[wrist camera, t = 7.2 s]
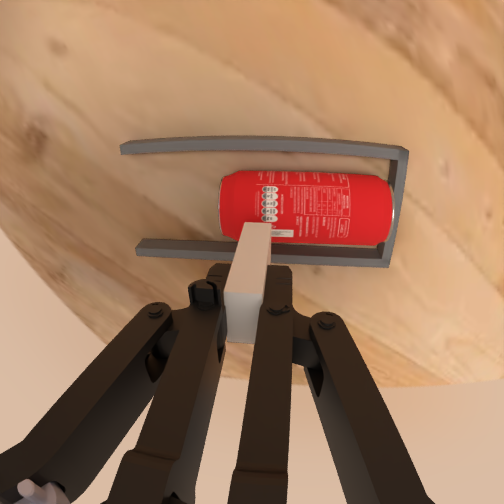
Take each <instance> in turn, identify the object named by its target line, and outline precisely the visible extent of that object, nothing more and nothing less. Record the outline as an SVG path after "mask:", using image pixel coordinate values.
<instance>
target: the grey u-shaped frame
mask: <svg viewBox="0 0 504 504" xmlns="http://www.w3.org/2000/svg"><path fill="white" fill-rule="evenodd" d="M204 150H262V151H293V152H313V153H329V154H342V155H354V156H365V157H375V158H384V159H391V162H390V170H389V178H388V181H389V182H390V184H391V186H392V189H393V193H394V200H395V218H394V225H393V230H392V233H391V236H390V238H389V240H388V241H387V242H385V243H382V242H380V243H378V247H377V249H368V248H348V247H327V246H306V245H284V244H271V263H285V264H307V265H330V266H354V267H379V268H389V265H390V260H391V256H392V251H393V247H394V242H395V237H396V232H397V227H398V221H399V216H400V210H401V205H402V199H403V192H404V186H405V179H406V172H407V165H408V157H409V151H408V150H407V149H405V148H403V147H402V146H395V145H387V144H378V143H369V142H359V141H349V140H337V139H323V138H307V137H284V136H198V137H175V138H159V139H145V140H133V141H128V142H126V143H124V144H121V145H120V151H121V155H124V154H137V153H153V152H172V151H204ZM237 245H238V242H214V241H189V240H163V239H142V240H141V242H140V243H139V244H138V245H137V246H136V248H135V249H136V255H137V256H149V257H167V258H185V259H204V260H224V261H233V259H234V255H235V252H236V249H237Z"/></svg>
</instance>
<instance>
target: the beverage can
mask: <svg viewBox="0 0 504 504" xmlns="http://www.w3.org/2000/svg"><path fill="white" fill-rule="evenodd" d="M218 217H219V226H220V230H221V233H222V235H225V236H229V237H231V238H233V239H235V240H237V241H239V239H240V236H241V232H242V229H243V226H244V223H245V222H253V223H271V242H282V243H314V244H343V245H371V246H374V245H376V244H378V243H380V242H382V243H385V242H387V241H388V240H389V238H390V236H391V233H392V230H393V225H394V218H395V200H394V193H393V189H392V186H391V184H390V182H389V181H388V180H382V179H381V178H379V177H378V176H374V175H360V174H344V173H324V172H298V171H238V172H235V173H233V174H231V175H229V176H224V177H223V178H222V180H221V184H220V189H219V198H218Z"/></svg>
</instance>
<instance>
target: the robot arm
mask: <svg viewBox="0 0 504 504" xmlns="http://www.w3.org/2000/svg"><path fill="white" fill-rule="evenodd" d="M188 292H189V299H190V306H189V307H187V308H184V309H179V310H171V308H170V307H169V305H167V304H165V303H162V302H155V303H151V304H148V305H146V306H145V307H143V308H142V309H141V310H140V311H139V312H138V313H137V314H136V316H135V317H134V318H133V319H132V320H131V321H130V322H129V323H128V324H127V325H126V326H125V327H124V328H123V329H122V330H121V331H120V332H119V333H118V335H117V336H116V337H115V338H114V339H113V340H112V341H111V342H110V343H109V344H108V345H107V346H106V347H105V349H104V350H103V351H102V352H101V353H100V354H99V355H98V356H97V357H96V358H95V359H94V360H93V362H92V363H91V364H90V365H89V366H88V367H87V368H86V369H85V371H83V372H82V374H81V375H80V376H79V377H78V378H77V379H76V380H75V381H74V383H73V384H72V385H71V386H70V387H69V388H68V389H67V391H66V392H64V394H63V395H62V396H61V397H60V398H59V399H58V400H57V402H56V403H55V404H54V405H53V406H52V407H51V408H50V410H49V411H48V412H47V413H46V414H45V415H44V417H43V418H42V419H41V420H40V421H39V422H38V423H37V424H36V426H35V427H34V428H33V429H32V430H31V431H30V433H29V434H28V435H27V436H26V438H25V439H24V440H23V441H21V442H20V443H18V444H17V445H15V446H13V447H12V448H10V449H8V450H7V451H5V452H3V453H2V454H0V504H71V503H72V502H74V501H75V500H76V499H77V498H78V497H79V496H80V495H81V494H83V493H84V491H85V490H86V489H87V488H88V487H89V485H90V484H91V483H92V481H93V480H94V479H95V477H96V476H97V474H98V473H99V472H100V470H101V469H102V468H103V466H104V465H105V463H106V462H107V460H108V459H109V458H110V456H111V455H112V454H113V452H114V451H115V449H116V448H117V447H118V445H119V444H120V442H121V441H122V439H123V438H124V437H125V435H126V434H127V433H128V431H129V430H130V428H131V427H132V426H133V424H134V423H135V421H136V420H137V418H138V417H139V416H140V414H141V413H142V412H143V410H144V409H145V407H146V406H147V404H148V403H149V402H150V400H151V399H152V397H153V396H154V397H153V400H152V403H151V406H150V408H149V411H148V414H147V416H146V419H145V422H144V425H143V427H142V430H141V433H140V436H139V439H138V441H137V444H136V446H135V448H134V449H133V450H129V451H127V452H126V453H125V454H124V456H123V458H122V460H121V463H120V465H119V468H118V471H117V474H116V477H115V479H114V482H113V485H112V488H111V491H110V494H109V496H108V499H107V500H106V501H104V502H102V503H101V504H195V485H196V481H197V476H198V472H199V467H200V462H201V458H202V454H203V449H204V445H205V440H206V436H207V431H208V427H209V422H210V418H211V413H212V408H213V405H214V400H215V396H216V391H217V387H218V382H219V378H220V374H221V369H222V365H223V360H224V356H225V352H226V347H225V340H226V336H227V342H235V343H249V344H255V345H254V352H253V359H252V365H251V372H250V379H249V386H248V392H247V399H246V405H245V412H244V419H243V426H242V431H241V438H240V444H239V450H238V457H237V463H236V467H235V469H234V471H233V474H232V480H231V485H230V491H229V496H228V503H227V504H286V502H287V488H288V473H287V468H288V467H287V466H288V451H289V431H290V409H291V382H292V363H294V364H298V365H301V366H304V371H305V374H306V378H307V381H308V384H309V387H310V389H311V393H312V396H313V399H314V402H315V405H316V408H317V411H318V414H319V417H320V420H321V423H322V426H323V429H324V433H325V436H326V439H327V442H328V445H329V448H330V451H331V454H332V457H333V461H334V463H335V466H336V470H337V473H338V476H339V479H340V483H341V486H342V489H343V492H344V495H345V498H346V502H347V504H435V503H434V502H433V501H432V500H431V499H430V498H429V497H428V496H427V494H426V492H425V490H424V487H423V485H422V483H421V480H420V478H419V476H418V474H417V471H416V469H415V467H414V465H413V462H412V460H411V458H410V455H409V454H408V451H407V449H406V447H405V445H404V442H403V440H402V438H401V436H400V434H399V432H398V429H397V428H396V426H395V423H394V421H393V419H392V417H391V415H390V413H389V410H388V408H387V406H386V404H385V402H384V400H383V398H382V396H381V394H380V392H379V390H378V388H377V386H376V384H375V382H374V380H373V378H372V376H371V374H370V372H369V370H368V368H367V366H366V364H365V362H364V360H363V358H362V356H361V354H360V352H359V350H358V348H357V346H356V344H355V342H354V340H353V338H352V337H351V335H350V333H349V331H348V329H347V327H346V325H345V323H344V321H343V320H342V319H341V317H340V316H338V315H336V314H335V313H331V312H319V313H316V314H315V315H313V316H312V317H311V318H310V317H306V316H303V315H301V314H299V313H298V312H297V311H295V309H294V308H293V305H292V271H291V269H290V268H289V267H288V266H278V265H271V223H253V222H245V223H244V226H243V229H242V232H241V236H240V239H239V242H238V245H237V249H236V252H235V255H234V259H233V262H232V264H220V263H216V264H215V265H214V266H212V267H211V268H210V270H209V272H208V275H207V277H206V279H201V280H197V281H195V282H193V283H191V284H190V285H189V287H188Z"/></svg>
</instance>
